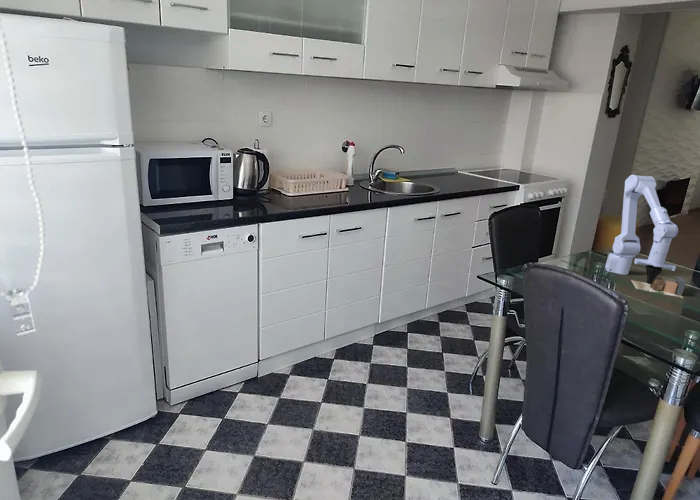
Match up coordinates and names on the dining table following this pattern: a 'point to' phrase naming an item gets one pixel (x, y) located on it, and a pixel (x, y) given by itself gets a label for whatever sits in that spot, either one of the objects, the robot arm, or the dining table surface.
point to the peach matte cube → (669, 286)
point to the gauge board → (648, 288)
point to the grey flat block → (680, 285)
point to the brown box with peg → (657, 283)
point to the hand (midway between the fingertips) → (648, 283)
